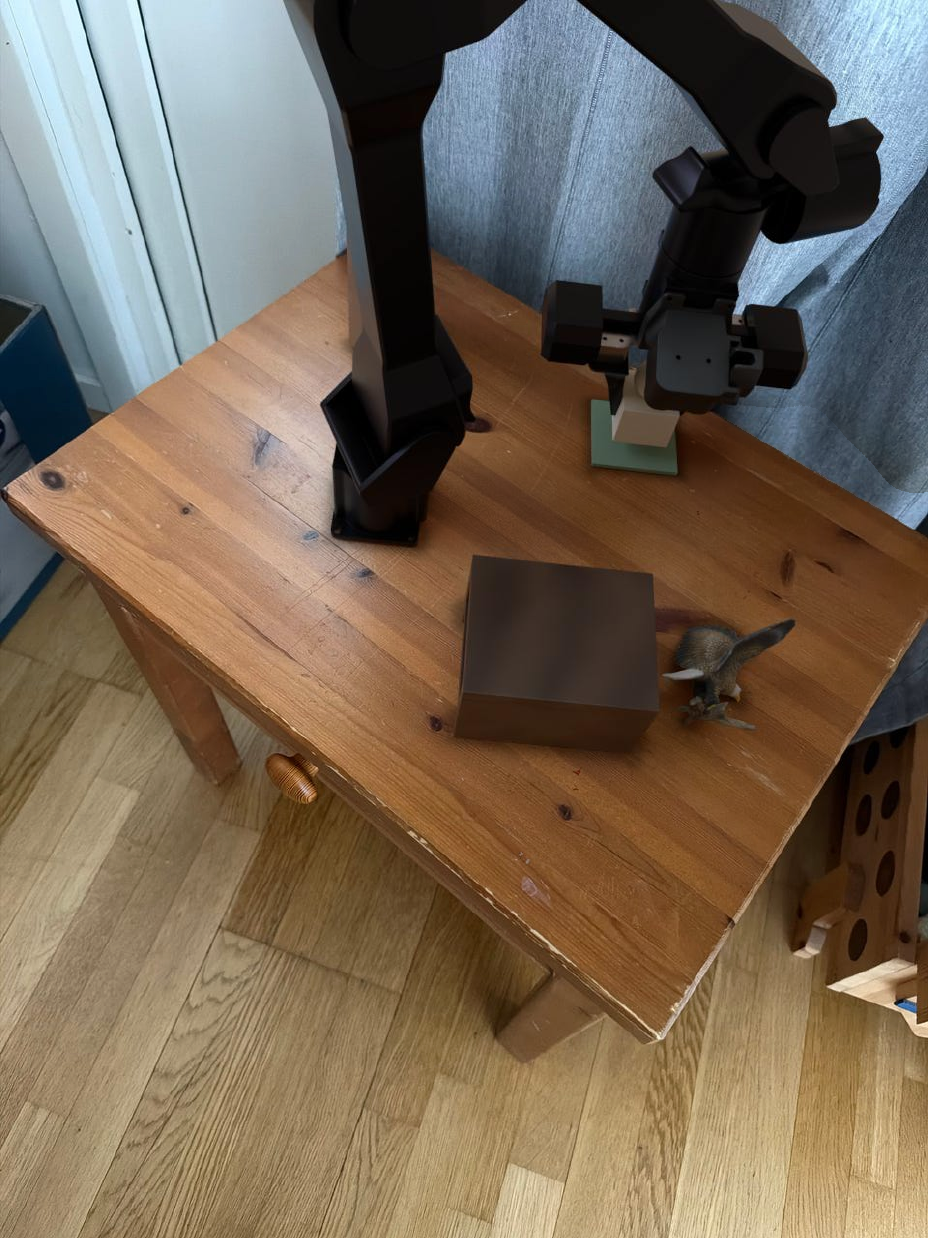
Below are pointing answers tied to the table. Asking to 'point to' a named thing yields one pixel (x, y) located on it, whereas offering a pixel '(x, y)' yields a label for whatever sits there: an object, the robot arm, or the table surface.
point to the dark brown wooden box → (557, 655)
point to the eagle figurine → (720, 666)
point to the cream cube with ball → (641, 415)
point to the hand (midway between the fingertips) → (641, 414)
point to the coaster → (626, 447)
